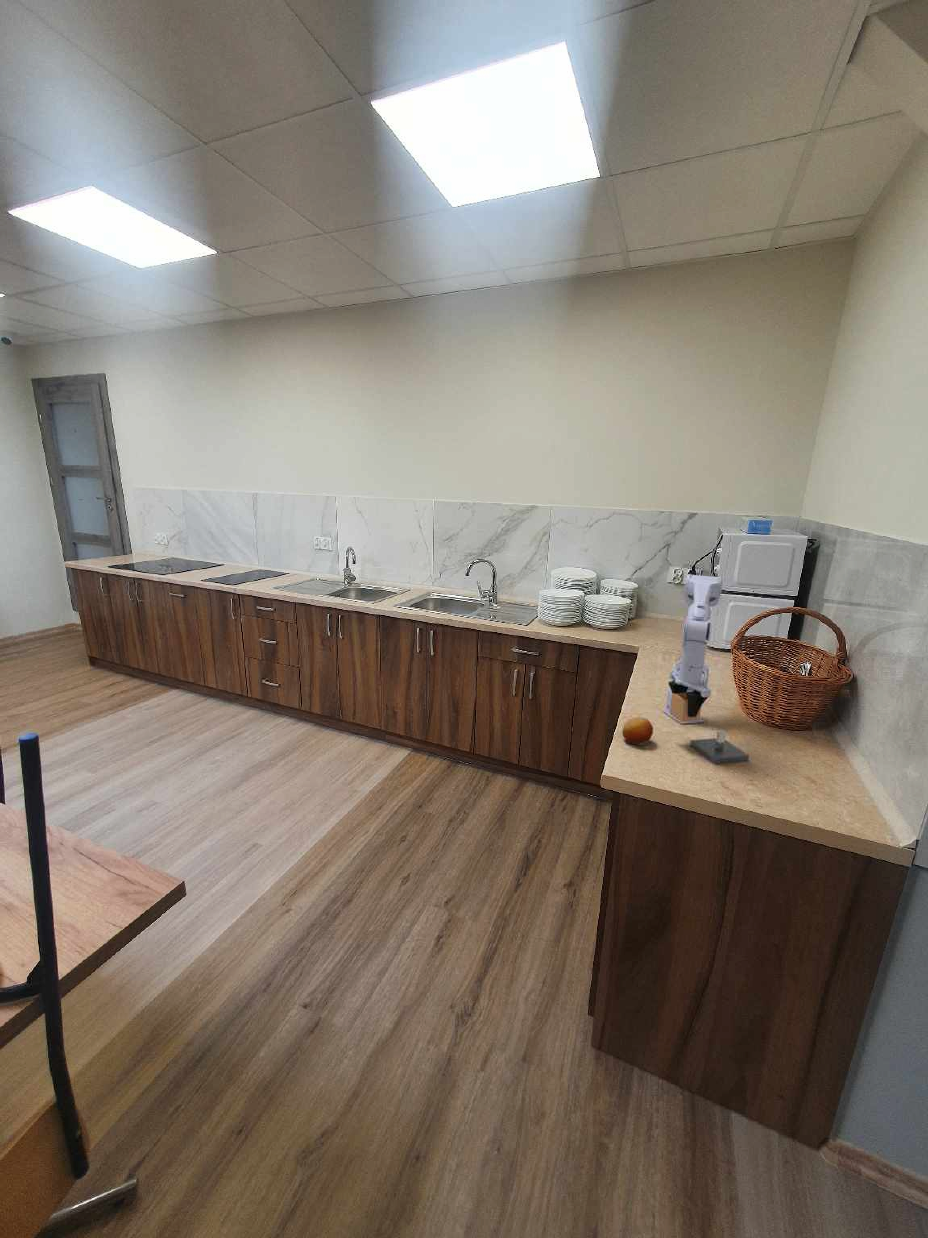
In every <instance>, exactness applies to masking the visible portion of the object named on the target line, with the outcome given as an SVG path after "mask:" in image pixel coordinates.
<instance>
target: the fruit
mask: <svg viewBox="0 0 928 1238" xmlns="http://www.w3.org/2000/svg"><path fill="white" fill-rule="evenodd" d="M621 732H622V733H621V734H622V736H623V738H624V739H625V740H626V741H627V742H628V743H629V744H632V745H637V746H638V745H639V746H643V747H644V746H645V744H646V743H648V742H649V743H651V738H652V735H653V734H654V727H653V724H652V723H651V721H650V720H649V719H648V718H646V717H642V716H641V717H640V716H637V717H633V718H630V719H627V720H626V721H625V723H624V724H623V728H622V731H621Z"/></svg>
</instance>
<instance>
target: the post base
mask: <svg viewBox="0 0 928 1238" xmlns="http://www.w3.org/2000/svg"><path fill="white" fill-rule="evenodd" d="M689 746H690V747H691V748H692V749H694V750H695V751H696V752H698V753H699V755H702V756H703V757H705V758H706V759H707V760H709V761H710V762H711V763H713V764H714V765H720V764H721V765H722V764H730V763H731V764H732V763H738V762H748V761H749V758H750V755H749V754H747V753H746V752H745V751H744V750H741V749H740V748H739V747H737V746H735V745H734V744H733V743H731V742H730V741H727V740H726V731H724V730H722V729H720V730H718V731H717V732H716V736H715V737H713V738H706V739H693V740H690V741H689Z"/></svg>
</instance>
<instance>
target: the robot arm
mask: <svg viewBox="0 0 928 1238" xmlns="http://www.w3.org/2000/svg"><path fill="white" fill-rule="evenodd" d="M723 580H724V579H723V577H722V576H709V575H697V574H692V573H688V574H687V576H686V578H685V586H684V602H685V603H686V604H688V605H690V606H689V607H688V610H687V617H686V620H685V621H684V622H683V628H682V636H681V637H682V638H681V639H682V642H681V643H682V644H681V647H682V648H681V655H680V659H679V660H677V661H676V662H675V663H674V668H673V670H670V671H669V676H668V677H669V679H671V680H670V681H669V682H668V685H669V687H670V688H669V690H668V691H667V695H666V704H665V709H662V712H663V713H664V714H666V715H668V716H669V717H671V718H672V719H673V720H675V722H676V721H677V722H678V723H679V724H682V725H684V724H695V723H696V724H697V723H704V719H702V718H701V717H700V719H699V721H692V722H680V721H679V720H677V719H676V718H675V717H673V716H672V715H670V714H669V712H670V705H671V698H672V694H673V693H686V695H687V699H688V717H696V716H697V713H698V711H699V709H700V707H701V708H702V705H703V704H704V703H705V701H707V699H708V698H710V697H711V691H712V689H710V688H709V687H708V683H709V672H710V669H709V666H708V665H706V664H705V660H706V654H707V653H706V652H707V645H708V644H709V642H710V638H711V632H712V620H711V618H712V617H711V616H712V607H715V606H717V605H718V603H719V602H720V599H721V598H720V597H721V594H722V589H723ZM706 641H707V642H706Z"/></svg>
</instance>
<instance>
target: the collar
mask: <svg viewBox="0 0 928 1238" xmlns="http://www.w3.org/2000/svg"><path fill="white" fill-rule="evenodd" d="M701 711H702V706H701V707H700V709H699V711H698V713H697V716H696V717H688V699H687V695H686V693H673V694H672V698H671V705H670V712H669V714H670V715H672V716H673V717H675V718H676V719H677V720H679V721H680V722H692V721H699V719H700V718H701Z"/></svg>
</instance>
